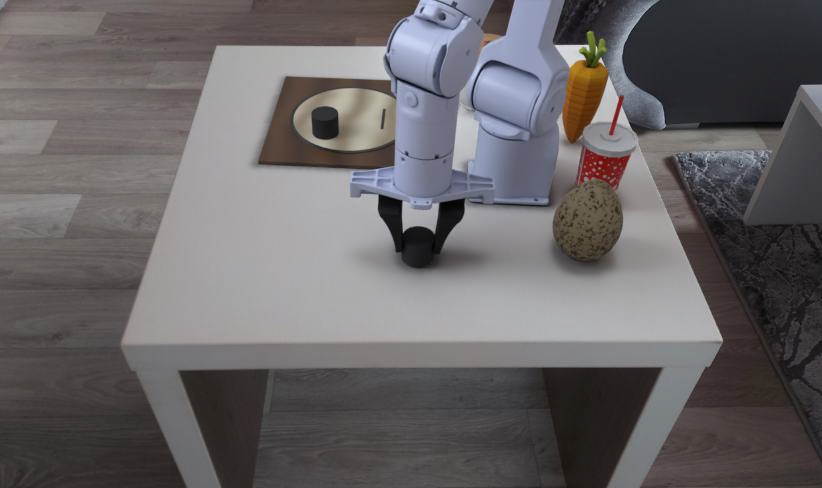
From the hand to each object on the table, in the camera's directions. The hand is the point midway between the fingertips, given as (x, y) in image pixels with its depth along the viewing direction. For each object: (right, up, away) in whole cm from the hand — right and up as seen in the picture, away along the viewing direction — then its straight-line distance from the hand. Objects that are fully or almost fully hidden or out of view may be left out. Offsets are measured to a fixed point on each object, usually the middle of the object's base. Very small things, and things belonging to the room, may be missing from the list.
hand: (417, 247), depth 76 cm
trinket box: (+11, +22, +25) cm, 35 cm away
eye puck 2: (0, -1, +1) cm, 1 cm away
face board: (-8, +18, +21) cm, 29 cm away
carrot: (+22, +15, +17) cm, 31 cm away
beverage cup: (+22, +6, +8) cm, 24 cm away
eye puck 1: (-11, +16, +18) cm, 26 cm away
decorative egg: (+18, -1, +1) cm, 18 cm away
